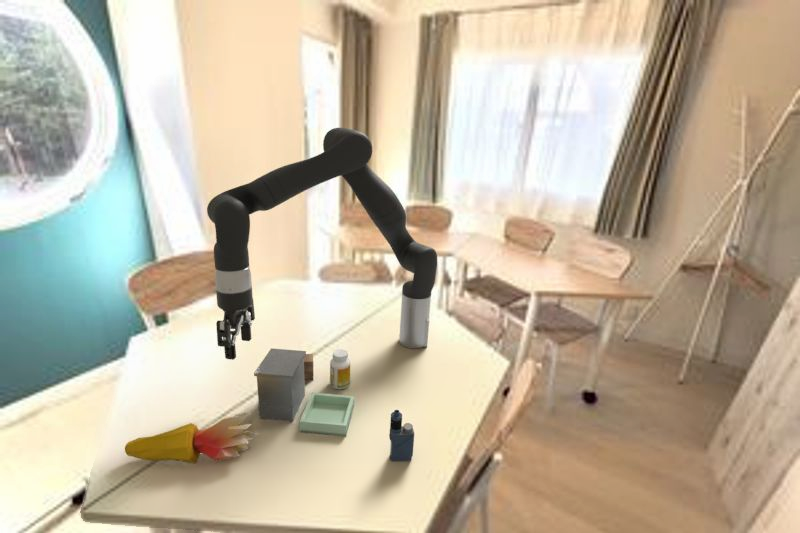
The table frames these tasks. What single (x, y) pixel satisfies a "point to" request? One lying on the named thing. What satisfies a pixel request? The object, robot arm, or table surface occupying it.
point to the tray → (327, 414)
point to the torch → (194, 442)
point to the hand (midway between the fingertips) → (239, 348)
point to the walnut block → (308, 367)
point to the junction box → (281, 384)
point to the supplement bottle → (340, 369)
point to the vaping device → (400, 438)
